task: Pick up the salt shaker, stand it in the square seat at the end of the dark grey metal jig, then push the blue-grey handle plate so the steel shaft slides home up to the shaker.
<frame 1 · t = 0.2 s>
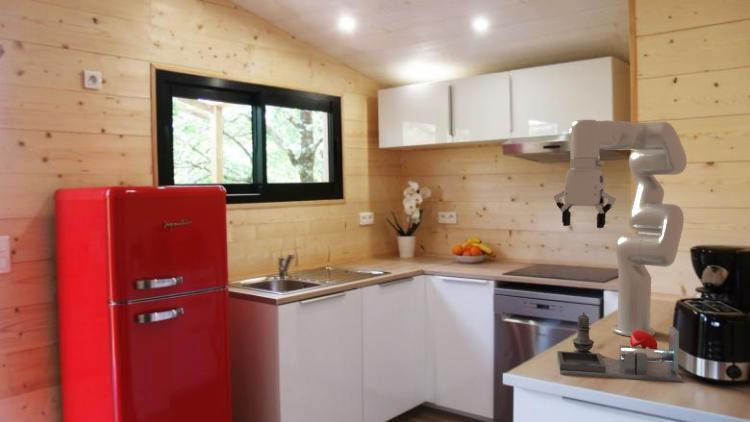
hand: (583, 226, 167), 36 cm above the worktop, tool pointing down, fingers open, 9 cm apart
salt shaker: (583, 354, 171), on the worktop
shaft: (648, 347, 154), point 7 cm above the worktop, slide at 0.0 cm
cap: (643, 352, 172), on the worktop
jig: (616, 370, 156), on the worktop
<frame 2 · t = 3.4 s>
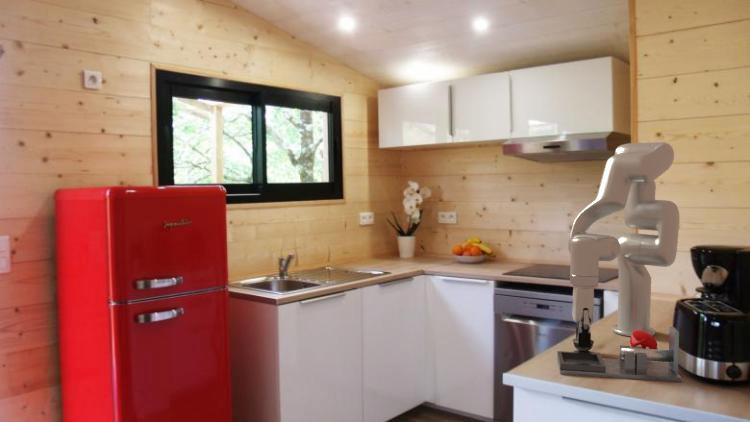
hand: (583, 343, 170), 3 cm above the worktop, tool pointing down, fingers closed on salt shaker, 5 cm apart
salt shaker: (582, 354, 171), on the worktop, touching gripper
everything else where it was.
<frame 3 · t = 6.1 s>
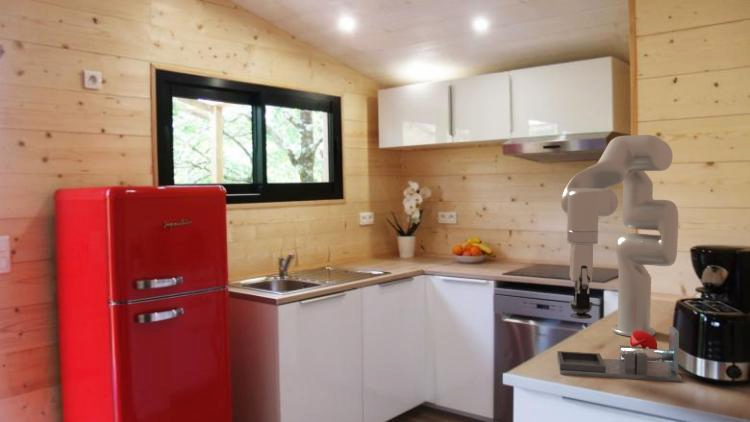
hand: (581, 305, 157), 17 cm above the worktop, tool pointing down, fingers closed on salt shaker, 5 cm apart
salt shaker: (581, 317, 157), point 14 cm above the worktop, touching gripper
everything else where it was.
when the fingers open (5 cm above the worktop, at t = 8.9 s): salt shaker drops 1 cm, resting on jig.
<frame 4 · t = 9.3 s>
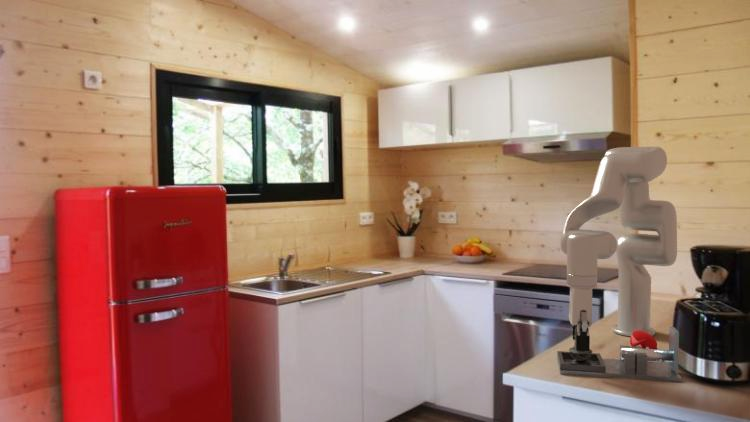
hand: (580, 345, 158), 6 cm above the worktop, tool pointing down, fingers open, 9 cm apart
salt shaker: (580, 364, 159), point 1 cm above the worktop, touching jig
everything else where it was.
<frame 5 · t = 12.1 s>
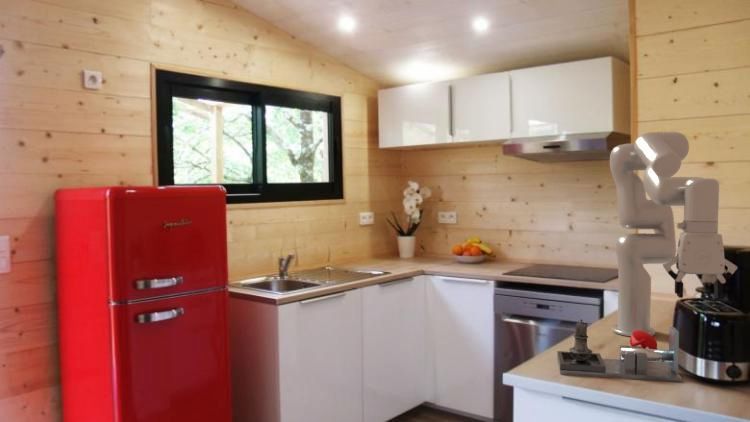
hand: (698, 297, 151), 20 cm above the worktop, tool pointing down, fingers open, 8 cm apart
nothing on the worktop moved.
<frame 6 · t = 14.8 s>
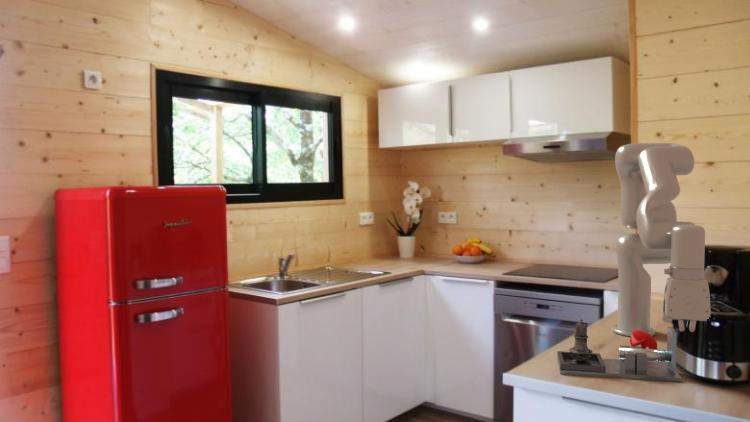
hand: (684, 345, 152), 7 cm above the worktop, tool pointing down, fingers closed
shaft: (646, 347, 154), point 7 cm above the worktop, slide at 0.5 cm, touching gripper
everything else where it was.
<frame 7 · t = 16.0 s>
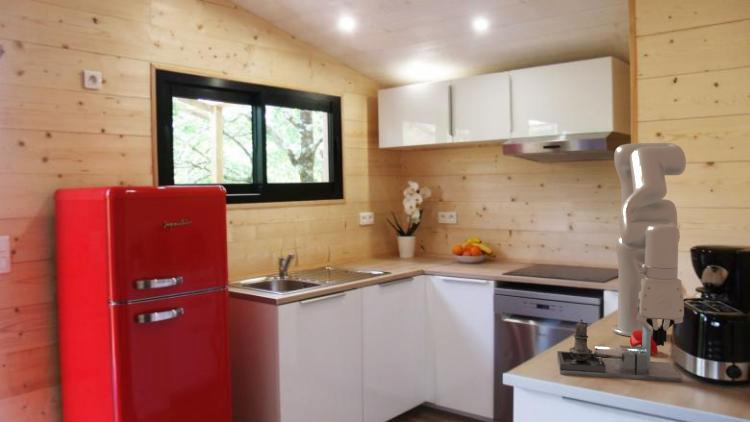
hand: (659, 344, 154), 7 cm above the worktop, tool pointing down, fingers closed
shaft: (621, 345, 156), point 7 cm above the worktop, slide at 6.5 cm, touching gripper, jig
everything else where it was.
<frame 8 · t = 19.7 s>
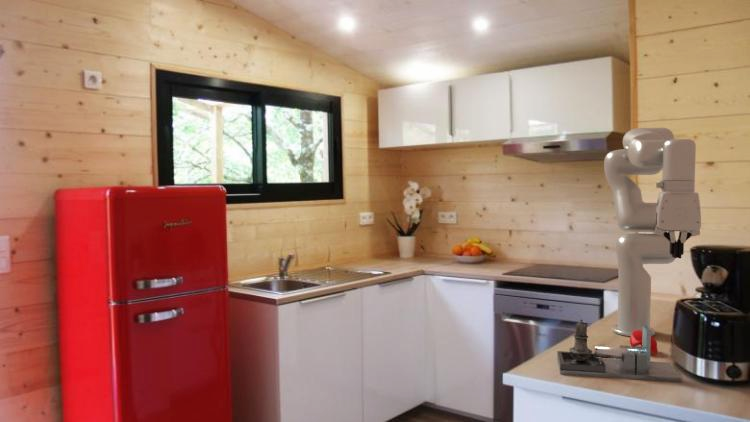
hand: (676, 257, 157), 29 cm above the worktop, tool pointing down, fingers closed
shaft: (621, 345, 156), point 7 cm above the worktop, slide at 6.5 cm, touching jig
everything else where it was.
at the end: salt shaker inside the target area on the jig (0.3 cm from its centre), point 0.8 cm above the jig's base; salt shaker tilted 0°; shaft slide at 6.5 cm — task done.
